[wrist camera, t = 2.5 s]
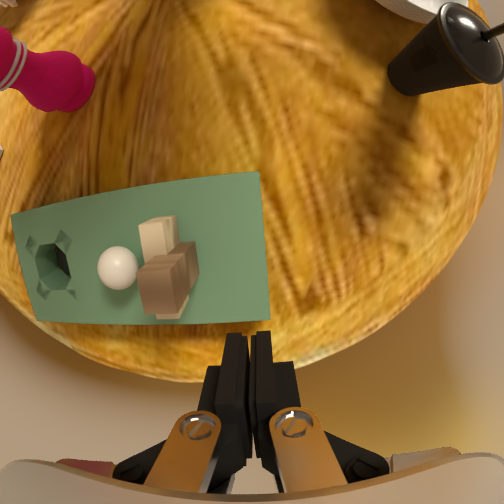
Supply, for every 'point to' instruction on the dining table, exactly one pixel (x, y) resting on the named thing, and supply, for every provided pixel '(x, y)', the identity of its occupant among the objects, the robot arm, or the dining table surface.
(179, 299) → the stacked wooden blocks
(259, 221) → the putting mat
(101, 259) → the ball
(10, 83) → the pepper mill
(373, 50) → the dining table surface
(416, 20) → the cereal bowl
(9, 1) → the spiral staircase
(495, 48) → the drinking cup
